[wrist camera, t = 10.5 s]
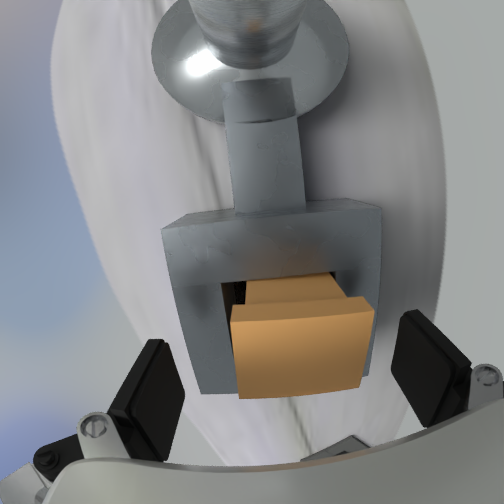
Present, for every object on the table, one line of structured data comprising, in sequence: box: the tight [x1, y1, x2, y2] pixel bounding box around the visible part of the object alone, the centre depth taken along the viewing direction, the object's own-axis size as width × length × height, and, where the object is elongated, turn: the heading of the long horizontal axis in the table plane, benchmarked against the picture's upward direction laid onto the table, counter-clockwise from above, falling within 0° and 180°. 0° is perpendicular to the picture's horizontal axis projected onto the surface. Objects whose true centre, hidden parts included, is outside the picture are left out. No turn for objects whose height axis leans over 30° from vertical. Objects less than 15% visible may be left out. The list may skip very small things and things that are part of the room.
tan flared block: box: [230, 272, 375, 399], centre depth 13 cm, size 4×5×9 cm
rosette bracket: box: [151, 0, 382, 394], centre depth 11 cm, size 26×11×10 cm, turn 6°
